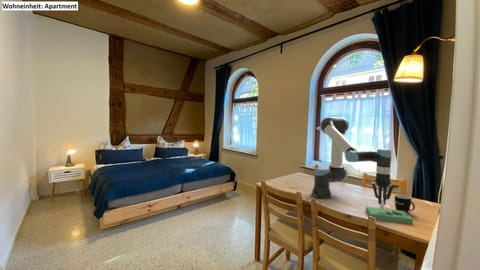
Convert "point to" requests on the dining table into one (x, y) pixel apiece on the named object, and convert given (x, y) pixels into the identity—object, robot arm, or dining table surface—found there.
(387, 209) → the ball
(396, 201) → the mug
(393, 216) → the green
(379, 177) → the robot arm
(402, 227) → the dining table surface
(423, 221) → the dining table surface
